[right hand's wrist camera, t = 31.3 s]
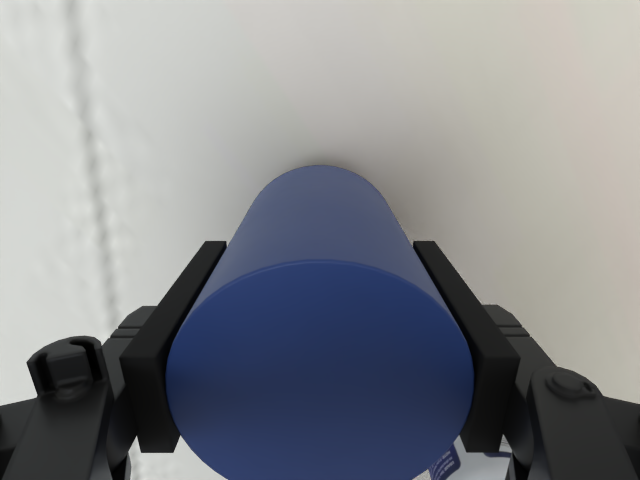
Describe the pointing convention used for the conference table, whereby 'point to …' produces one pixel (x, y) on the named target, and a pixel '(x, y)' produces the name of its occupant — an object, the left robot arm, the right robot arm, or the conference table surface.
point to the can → (319, 343)
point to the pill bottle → (471, 463)
